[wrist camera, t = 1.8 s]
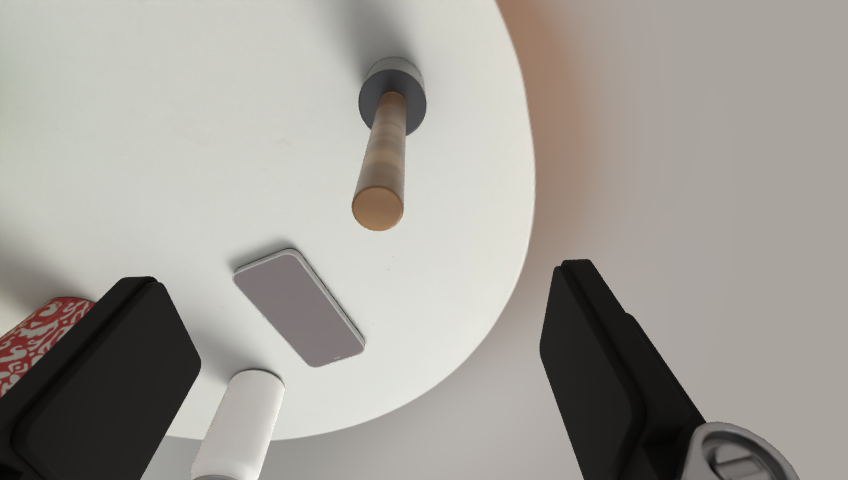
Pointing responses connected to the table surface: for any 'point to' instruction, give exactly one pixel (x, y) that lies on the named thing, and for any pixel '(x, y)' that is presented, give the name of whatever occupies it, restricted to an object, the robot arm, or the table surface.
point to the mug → (37, 337)
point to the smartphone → (299, 308)
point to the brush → (387, 140)
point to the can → (240, 428)
